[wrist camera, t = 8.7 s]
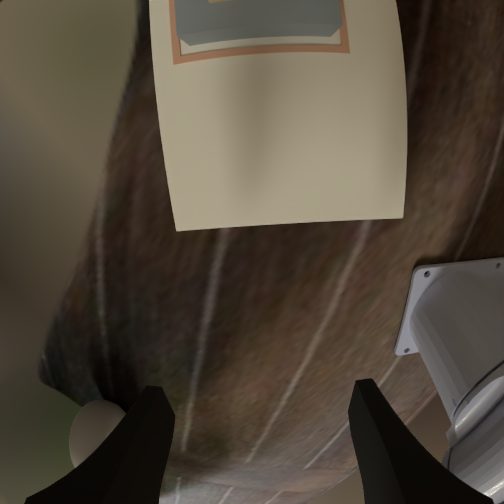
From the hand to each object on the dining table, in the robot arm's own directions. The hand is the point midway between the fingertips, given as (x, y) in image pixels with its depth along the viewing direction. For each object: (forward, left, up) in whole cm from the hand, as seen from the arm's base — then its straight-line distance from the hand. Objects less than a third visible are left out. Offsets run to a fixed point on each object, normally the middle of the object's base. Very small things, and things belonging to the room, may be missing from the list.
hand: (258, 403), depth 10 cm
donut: (+16, +16, -10) cm, 25 cm away
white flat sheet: (-2, -13, -9) cm, 16 cm away
